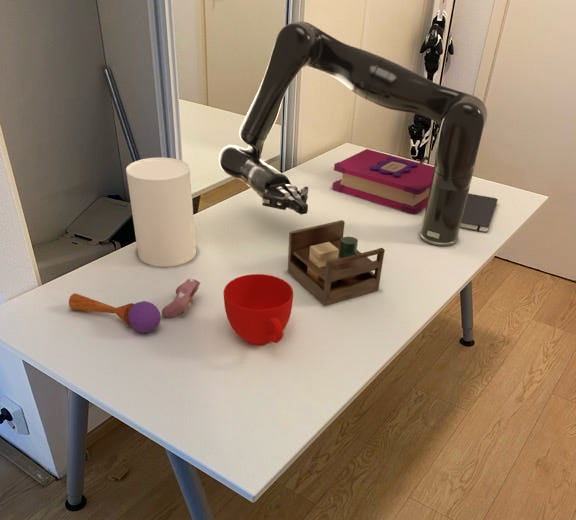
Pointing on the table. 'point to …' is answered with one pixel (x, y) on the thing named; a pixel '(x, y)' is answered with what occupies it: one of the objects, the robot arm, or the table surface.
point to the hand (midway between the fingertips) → (304, 210)
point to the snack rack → (332, 263)
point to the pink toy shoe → (181, 298)
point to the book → (385, 180)
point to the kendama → (122, 312)
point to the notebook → (478, 212)
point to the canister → (162, 210)
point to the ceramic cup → (258, 307)
